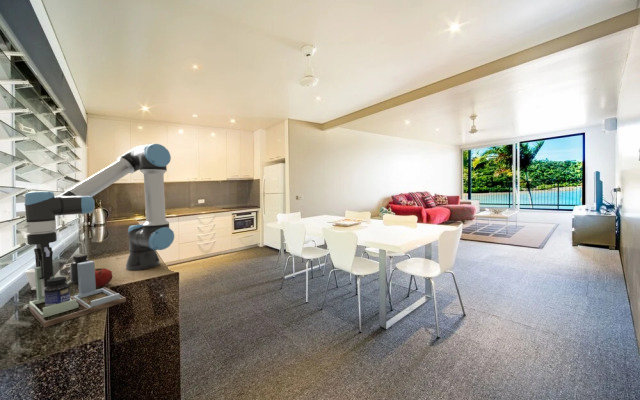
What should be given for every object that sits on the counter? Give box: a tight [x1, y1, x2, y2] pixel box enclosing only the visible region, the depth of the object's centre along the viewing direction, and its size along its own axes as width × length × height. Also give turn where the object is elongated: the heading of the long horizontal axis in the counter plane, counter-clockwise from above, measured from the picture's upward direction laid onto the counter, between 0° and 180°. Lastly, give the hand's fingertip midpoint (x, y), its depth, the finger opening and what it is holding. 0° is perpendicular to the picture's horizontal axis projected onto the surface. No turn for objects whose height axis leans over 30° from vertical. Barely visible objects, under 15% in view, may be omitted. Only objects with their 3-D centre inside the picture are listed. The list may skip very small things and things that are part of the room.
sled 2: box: [72, 260, 121, 308], centre depth 98 cm, size 9×21×13 cm, turn 57°
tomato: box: [95, 267, 113, 288], centre depth 112 cm, size 9×9×8 cm
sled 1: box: [28, 265, 80, 319], centre depth 93 cm, size 9×21×13 cm, turn 57°
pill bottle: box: [44, 276, 71, 307], centre depth 90 cm, size 6×6×11 cm
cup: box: [25, 268, 36, 291], centre depth 113 cm, size 7×10×8 cm
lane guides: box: [29, 286, 127, 328], centre depth 93 cm, size 21×20×2 cm
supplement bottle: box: [69, 253, 90, 284], centre depth 119 cm, size 7×7×12 cm
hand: (46, 293), depth 98 cm, fingers closed on sled 1, 3 cm apart
